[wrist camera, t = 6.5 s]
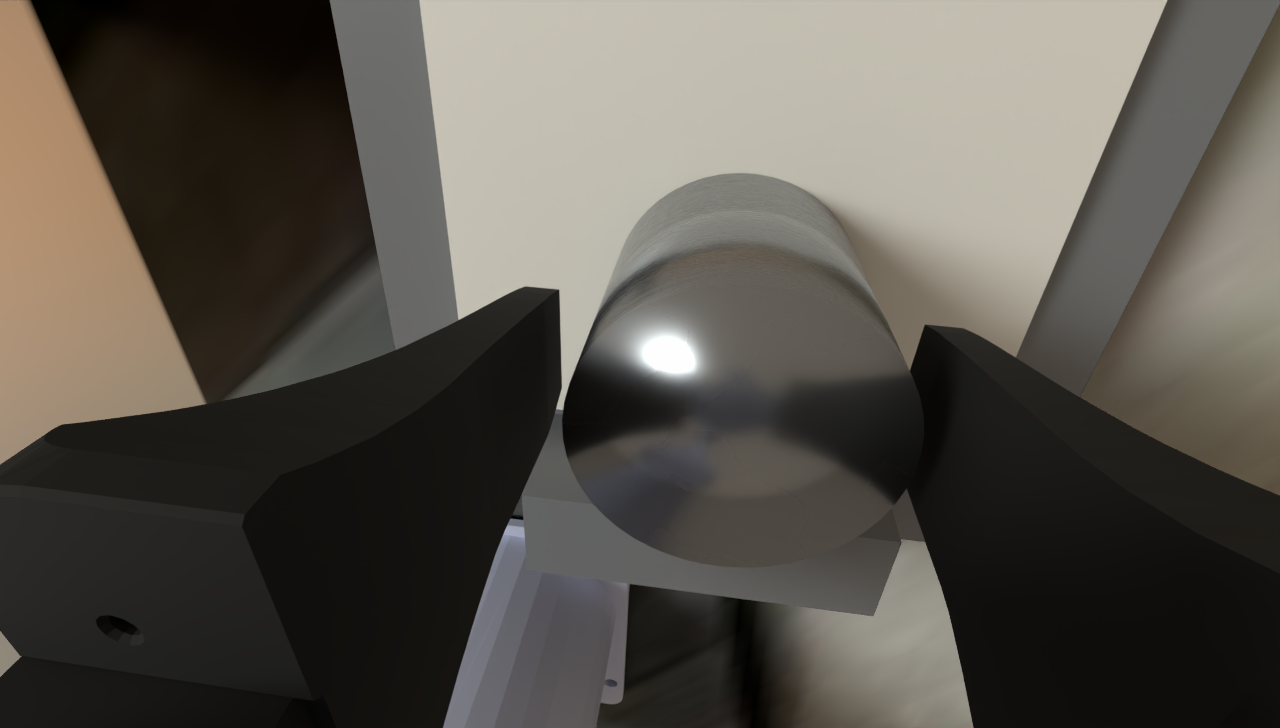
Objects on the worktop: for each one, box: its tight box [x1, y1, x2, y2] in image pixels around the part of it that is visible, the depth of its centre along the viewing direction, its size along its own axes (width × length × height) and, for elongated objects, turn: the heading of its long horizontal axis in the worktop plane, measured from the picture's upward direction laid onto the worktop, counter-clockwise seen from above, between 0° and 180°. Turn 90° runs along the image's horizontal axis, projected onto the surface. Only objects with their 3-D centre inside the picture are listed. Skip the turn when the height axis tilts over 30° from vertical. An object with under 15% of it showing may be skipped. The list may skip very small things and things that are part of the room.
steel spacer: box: [562, 173, 924, 568], centre depth 11 cm, size 5×5×5 cm
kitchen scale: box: [330, 0, 1280, 616], centre depth 12 cm, size 18×16×6 cm
